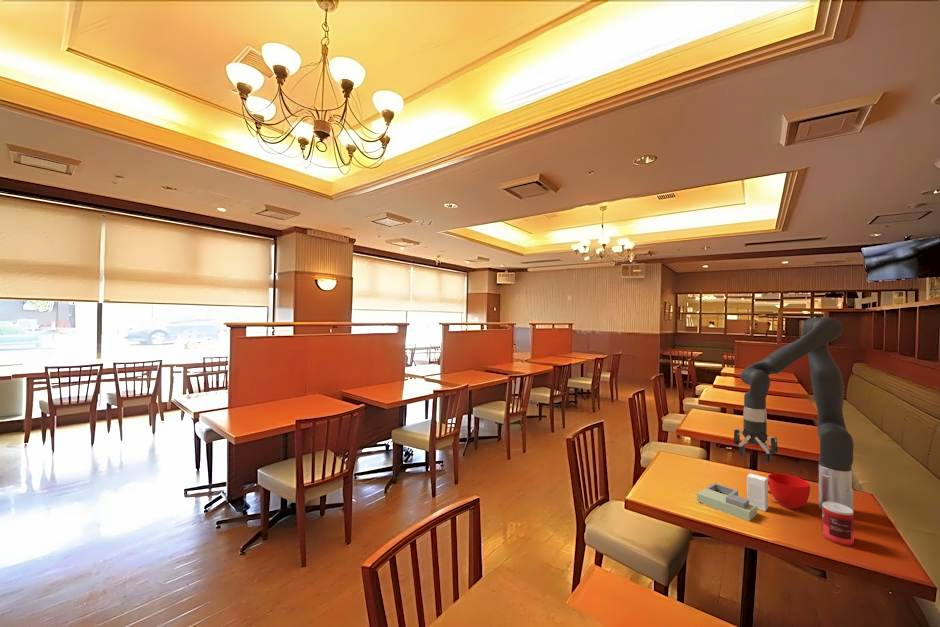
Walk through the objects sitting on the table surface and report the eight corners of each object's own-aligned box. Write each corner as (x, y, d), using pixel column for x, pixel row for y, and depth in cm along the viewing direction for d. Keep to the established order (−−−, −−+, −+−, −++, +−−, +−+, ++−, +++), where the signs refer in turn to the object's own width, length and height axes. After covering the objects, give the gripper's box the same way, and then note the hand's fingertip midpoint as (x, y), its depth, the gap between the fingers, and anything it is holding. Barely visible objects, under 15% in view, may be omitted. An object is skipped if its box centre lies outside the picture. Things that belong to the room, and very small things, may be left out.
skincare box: (768, 508, 150) (768, 477, 150) (765, 511, 148) (765, 480, 148) (750, 502, 155) (749, 472, 155) (746, 505, 152) (746, 475, 152)
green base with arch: (765, 507, 151) (765, 493, 151) (749, 521, 141) (749, 506, 141) (714, 489, 166) (714, 477, 166) (695, 501, 156) (695, 488, 156)
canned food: (836, 532, 134) (836, 501, 134) (861, 546, 126) (860, 513, 126) (815, 532, 133) (815, 501, 133) (838, 546, 125) (838, 513, 125)
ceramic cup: (754, 492, 164) (754, 468, 164) (805, 502, 155) (805, 477, 155) (758, 505, 153) (758, 480, 153) (814, 516, 144) (814, 490, 144)
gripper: (780, 421, 149) (780, 462, 149) (738, 413, 161) (738, 451, 161) (772, 424, 145) (772, 467, 145) (730, 416, 157) (730, 455, 157)
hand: (755, 459), depth 153 cm, fingers open, 8 cm apart
